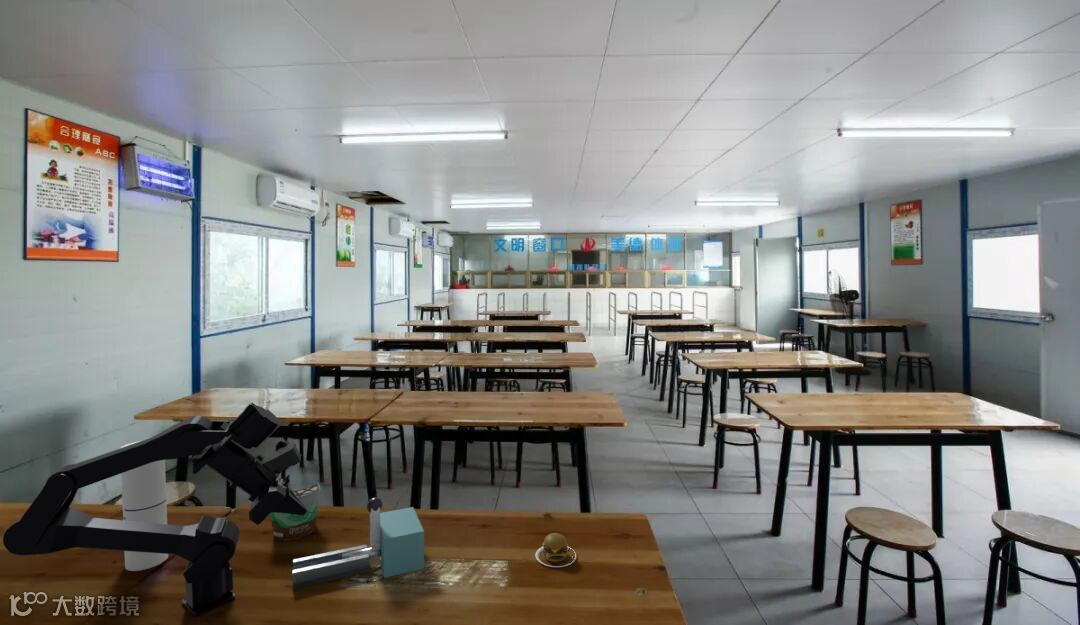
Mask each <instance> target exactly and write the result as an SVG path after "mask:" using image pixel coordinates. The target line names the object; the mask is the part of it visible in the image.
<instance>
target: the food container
mask: <svg viewBox="0 0 1080 625" xmlns="http://www.w3.org/2000/svg"><path fill="white" fill-rule="evenodd" d="M293 492H294V493H295V494H296V496H297V497H298V498H299V499H300V501H301V502H302V503H303V505H304V506H305V507H306V508H307V512H306V513H305V514H304V515H295V514H286V513H274V512H271V513H270V514H269V515H270V521H271V527H272V533H273V538H274V539H275V538H276V540H279V539H282V540H281V541H285V540H284V539H293V540H296V539H295V538H298V539H300V538H299V537H301V538H303V537H302V536H304V537H306V536H308V535H309V534H308V533H310V532H311V531H313V529H314V528H315V526H317V518H318V515H317V514H318V507H319V506H318V505H319V503H318V502H319V498H320V497H321V495H322V489H321V486H320V484H319V482H317V481H315V484H314V485H312V486H309V487H306V488H303V489H298V490H293ZM315 529H316V528H315ZM313 532H314V531H313ZM307 534H308V535H307ZM310 534H311V533H310ZM305 535H306V536H305Z"/></svg>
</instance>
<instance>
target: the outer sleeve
mask: <svg viewBox="0 0 1080 625" xmlns="http://www.w3.org/2000/svg"><path fill="white" fill-rule="evenodd" d="M365 548H368V546H367V544H362V545H357V546H353V547H348V548H342V549H337V550H332V551H328V552H323V553H318V554H314V555H309V556H308V555H307V556H304V557H299V558H293V559H292V590H297V589H300V588H305V587H309V586H314V585H318V584H322V583H323V584H324V583H326V582H331V581H336V580H341V579H344V578H349V577H353V576H357V575H362V574H366V573H369V572H370V559H369V554H365V555H361V556H356V557H351V558H347V559H342V553H346V552H351V551H356V550H360V549H365Z"/></svg>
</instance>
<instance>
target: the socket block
mask: <svg viewBox="0 0 1080 625" xmlns="http://www.w3.org/2000/svg"><path fill="white" fill-rule="evenodd" d="M380 534H381V557H378V558H379V562H380V566H381V571H382V574H383V578H384V579H386V578H390V577H391V578H392V577H393V576H398V575H403V574H407V573H412V572H415V571H419V570H424V569H425V530H424V528H423V525H422V524H421V521H420V520H419V517H418V515H417V512H416V510H415V508H414V506H412V507H411V506H410V507H406V508H401V509H400V508H399V509H395V510H394V509H393V510H388V511H383V512H380Z"/></svg>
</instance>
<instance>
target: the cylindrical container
mask: <svg viewBox="0 0 1080 625" xmlns="http://www.w3.org/2000/svg"><path fill="white" fill-rule="evenodd" d="M140 441H141V440H138V441H134V442H130V443H127V444H126V443H125V445H122V446H121V447H120V448H123V447H126V446H129V445H132V444H135V443H137V442H140ZM120 478H121V500H122V505H121V506H122V520H124V521H135V522H146V523H157V524H168V515H167V514H168V513H167V511H168V510H167V509H168V508H167V485H166V460H160V461H155V462H151V463H149V464H146V465H143V466H140V467H138V468H135V469H132V470H129V471H126V472H124V473H121V474H120ZM123 552H124V569H125V570H127V571H131V572H139V571H143V570H148V569H151V568H154V567H156V566H159V565H160V564H162V563H164V562H165V561H166V560H167V559H168V558H169V554H162V553H147V552H133V551H123Z"/></svg>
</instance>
